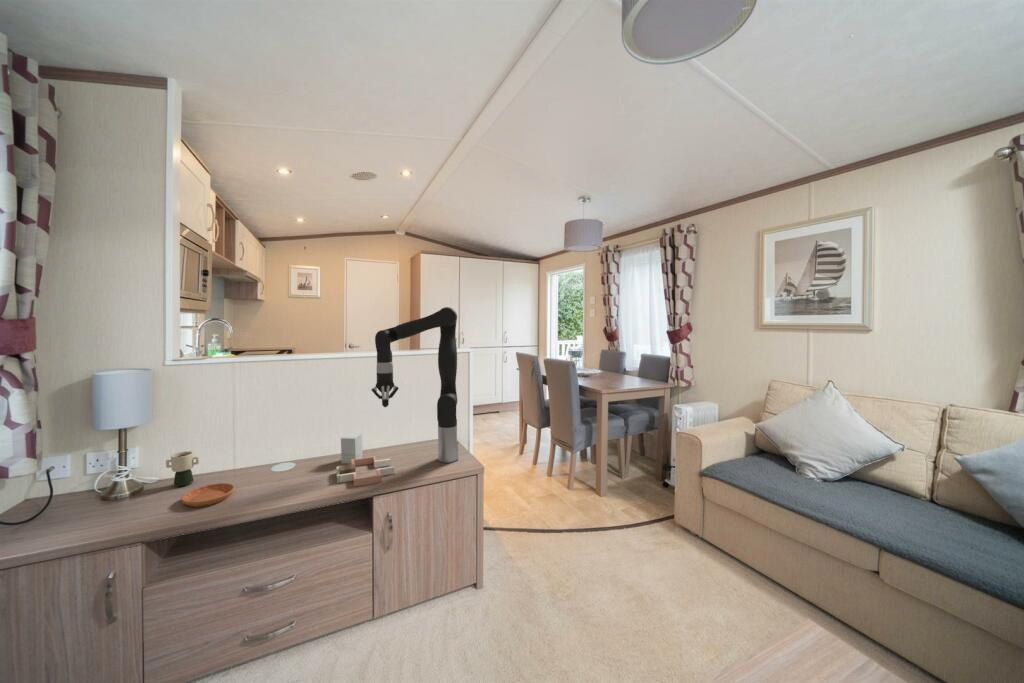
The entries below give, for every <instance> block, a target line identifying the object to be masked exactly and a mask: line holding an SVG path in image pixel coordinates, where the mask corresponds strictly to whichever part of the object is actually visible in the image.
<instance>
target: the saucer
mask: <svg viewBox="0 0 1024 683" xmlns="http://www.w3.org/2000/svg"><path fill="white" fill-rule="evenodd" d="M234 491H235V485H234V484H232V483H228V482H226V483H225V482H224V483H222V482H220V483H213V484H206V485H203V486H199V487H196V488H194V489H191V490H189V491H187V492H186V493H185V494H183V495H182V496H181V502H182V503H183V504H184V505H187V506H189V507H192V508H194V507H195V508H199V507H200V508H201V507H202V508H203V507H207V505H208V506H211V505H214V504H218V503H220V502H222V501H224V500H226V499H227V498H229V497H230V495H232V494H233V492H234Z"/></svg>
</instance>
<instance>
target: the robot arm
mask: <svg viewBox="0 0 1024 683" xmlns="http://www.w3.org/2000/svg"><path fill="white" fill-rule="evenodd" d="M457 321H458V313H457V311H456V310H455V309H454V308H452V307H448V306H447V307H446V306H445V307H442V308H440V310H437V311H436V312H433V313H432V314H429V315H427V316H424V317H421V318H417V319H413V320H409V321H407V322H404V323H401V324H398V325H396V326H394V327H390V328H386V329H383V330H382V329H381V330H379V331H377V333H375V337H374V342H375V343H374V344H375V349H376V384H375V386H373V388H371V389H370V390H371V392H372V393H373V394H374V395H375V396H376V397H377V398H378V399H379V400H381V406H382V407H383V408H388V406H389V401H390V399H393V397H394V395H395V394H396V393H397V391H398V390H399V387H398V386H396V385H395V383H394V364H393V351H392V349H391V344H392V343H393V342H397V341H399V340H403V339H407V338H410V337H413V336H416V335H418V334H421V333H423V332H426V331H428V330H431V329H436V328H439V331H440V338H439V345H438V352H437V354H438V355H437V366H438V367H437V368H438V373H439V374H438V375H439V377H440V394H439V398H438V399H437V403H436V412H437V413H436V417H437V419H436V420H437V449H438V450H437V461H438V462H440V463H447V464H448V463H453V462H456V461H458V460H459V440H458V420H457V405H458V394H457V384H456V382H457V372H458V371H457V369H458V351H457V350H458V349H457V347H458V346H457V340H456V328H457ZM392 389H393V390H392ZM378 391H379V392H380V394H379V393H378ZM390 392H391V393H390Z"/></svg>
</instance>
